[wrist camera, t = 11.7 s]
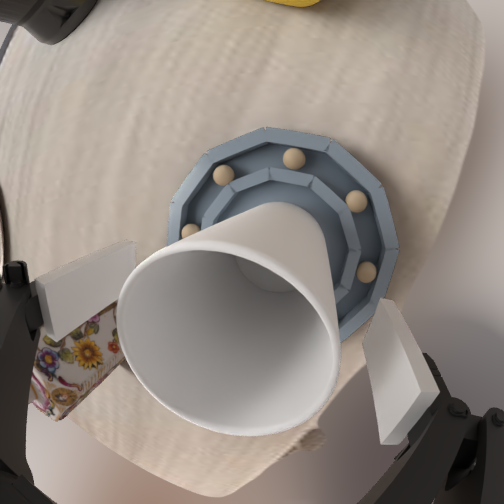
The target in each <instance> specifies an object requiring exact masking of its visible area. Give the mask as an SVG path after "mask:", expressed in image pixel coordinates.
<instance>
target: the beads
mask: <svg viewBox="0 0 504 504" xmlns="http://www.w3.org/2000/svg"><path fill="white" fill-rule="evenodd" d="M305 160H306V159H305V155H304V153H303V152H302V151H301V150H300V149H298V148H290V149H288V150H287V151H286V152H285V153H284V155H283V162H284V164H285V166H286V167H287V168H289V169H291V170H298V169H300V168H302V167H303V165H304V164H305ZM234 177H235V173H234V171H233V169H232V168H231V167H230V166H227V165H221V166H219V167H217V168H216V169H215V171H214V173H213V178H214V181H215V182H216V183H217V184H218V185H220V186H226V185H227V184H229V183H230V182H231V181H233V180H234ZM345 202H346V204H347V206H348V207H347V208H349V209H350V211H352V212H355V213H359V212H362V211H363V210H364V209H365V208H366V206H367V198H366V196H365V194H364V193H363V192H361V191H359V190H353V191H351V192H349V193H348V195H347V196H346V200H345ZM199 231H201V230H200V228H199V226H197V225H196V224H187V225H186V226H184V228H183V229H182V238H183V239H184V238H186V237H188V236H190V235H192V234H195V233H197V232H199ZM356 276H357V278H358V279H359V280H360V281H361V282H363V283H369V282H371V281H373V280H374V278H375V277H376V268H375V266H374V265H373V264H372V263H371V262H367V261H366V262H362V263H360V264H359V265H358V267H357V269H356Z"/></svg>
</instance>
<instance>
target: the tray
mask: <svg viewBox="0 0 504 504" xmlns="http://www.w3.org/2000/svg"><path fill="white" fill-rule="evenodd" d="M290 148H298V149H300V150H301V151H302V152H303V153H304V155H305V159H306V160H305V164H304V165H303V167H302V168H300V169H298V170H291V169H289V168H287V167H286V166H285V164H284V162H283V155H284V153H285V152H286V151H287V150H288V149H290ZM221 165H227V166H230V167H231V168H232V169H233V171H234V173H235V177H234V180H233V181H231V182H230V183H229V184H227V185H226V186H220V185H218V184H217V183H216V182H215V181H214V178H213V173H214V171H215V169H216V168H217V167H219V166H221ZM353 190H359V191H361V192H363V193H364V194H365V196H366V198H367V206H366V208H365V209H364V210H363V211H362V212H359V213H355V212H352V211H350V209H349V208H347V207H348V206H347V204H346V202H345V200H346V196H347V195H348V193H349V192H351V191H353ZM172 201H173V202H170V211H169V222H168V233H167V246H169V245H171V244H173V243H175V242H177V241H179V240H182V239H183V238H182V229H183V228H184V226H186V225H187V224H196V225H197V226H199V228H200V230H204V229H206V228H208V227H210V226H213V225H215V224H217V223H219V222H222V221H224V220H226V219H229V218H231V217H233V216H236V215H238V214H240V213H243V212H245V211H247V210H250V209H252V208H254V207H257V206H259V205H262V204H265V203H269V202H286V203H291V204H294V205H297V206H299V207H301V208H302V209H304V210H306V211H307V212H308V213H309V214H310V215H312V216H313V217H314V219H315V220H316V221H317V222H318V224H319V226H320V227H321V229H322V232H323V234H324V237H325V242H326V248H327V253H328V259H329V265H330V271H331V277H332V283H333V290H334V296H335V303H336V311H337V319H338V327H339V336H340V343H341V342H343V341H344V340H345V339H346V338H347V337H349V336H350V335H351V334H352V333H353V332H354V331H356V330H357V329H358V328H359V327H360V326H361V325H362V324H364V323H365V322H366V321H367V320H368V319H369V318H370V317H371V316H372V315H374V313H375V311H376V308H377V305H378V303H379V300H380V298H383V299H384V297H385V295H386V292H387V289H388V286H389V283H390V280H391V276H392V273H393V270H394V267H395V263H396V260H397V257H398V253H399V250H398V249H397V248H399V244H398V239H397V235H396V231H395V226H394V222H393V219H392V215H391V211H390V207H389V204H388V200H387V197H386V193H385V190H384V187H381V183H380V182H379V181H378V180H377V179H376V178H375V177H374V176H373V175H372V174H371V173H370V172H369V171H368V170H367V169H366V168H365V167H364V166H363V165H362V164H361V163H360V162H359V161H357V160H356V159H355V158H354V157H353V156H352V155H351V154H350V153H349V152H347V151H346V150H345V149H344V148H343V147H342V146H341V145H339V144H338V143H337V142H336V141H335V140H334V139H333V140H332V142H331V143H330V138H328V137H324V136H319V135H314V134H308V133H303V132H297V131H291V130H285V129H278V128H271V127H266V130H265V129H264V128H260V129H257V130H255V131H252V132H250V133H247V134H245V135H242V136H240V137H238V138H235V139H233V140H231V141H228V142H226V143H224V144H221V145H219V146H217V147H215V148H212V149H210V150H208V151H207V154H206V153H204V154H203V155H202V157H201V158H200V159H199V161H198V162H197V164H196V165H195V166H194V168H193V169H192V171H191V172H190V173H189V175H188V176H187V178H186V179H185V180H184V182H183V183H182V185H181V186H180V188H179V189H178V191H177V192H176V194H175V195H174V197H173V198H172ZM167 246H166V247H167ZM366 261H367V262H371V263H372V264H373V265H374V266H375V268H376V277H375V278H374V280H373V281H371V282H369V283H363V282H361V281H360V280H359V279H358V278H357V276H356V269H357V267H358V265H359V264H360V263H362V262H366Z"/></svg>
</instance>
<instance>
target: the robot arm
mask: <svg viewBox="0 0 504 504" xmlns="http://www.w3.org/2000/svg"><path fill="white" fill-rule="evenodd" d="M96 1H97V0H0V21H1V22H6V23H10V24H15V25H19V26H22V27H24V28H25V29H26V30H27V31H28V32H29V33H30V34H32V35H33V36H34V37H35V38H36V39H37V40H38V41H40V42H42V43H45V44H48V45H52V44H55V43H57V42H59V41H61V40H62V39H64V38H65V37H66V36H67V35H68V34H70V33H71V32H72V31H73V30H74V29H75V28H76V27H77V26H78V25H79V23H80V22H81V21H82V20H83V19H84V18H85V16H86V15H87V14H88V13H89V11H90V10H91V9H92V7H93V6H94V4H95V3H96ZM2 268H3V274H4V279H5V284H4V283H2V279H1V274H0V504H57V503H55V502H54V501H52V500H51V499H50V498H49V497H48V496H46V495H45V494H44V493H43V492H41V491H40V490H39V489H38V488H37V487H36V486H34V480H33V476H32V473H31V470H30V468H29V465H28V463H27V460H26V423H27V410H28V400H29V392H30V385H31V379H32V373H33V367H34V362H35V357H36V352H37V348H38V343H39V339H40V335H41V332H40V328H39V327H40V326H42V325H43V324H44V327H45V330H46V334H47V336H48V337H50V338H51V339H53V340H54V341H56V342H58V341H59V340H61V339H62V338H63V337H65V336H66V335H67V334H69V333H70V332H72V331H73V330H74V329H76V328H77V327H79V326H80V325H81V324H83V323H84V322H86V321H87V320H88V319H90V318H91V317H93V316H94V315H96V314H97V313H98V312H100V311H101V310H103V309H104V308H106V307H107V306H108V305H110V304H111V303H113V302H114V301H116V300H117V299H119V296H120V292H121V290H122V288H123V285H124V283H125V282H126V280H127V278H128V277H129V275H130V274H131V273H132V272H133V270H134V269H135V268H136V242H133V241H129V240H123V241H121V242H118V243H116V244H113V245H111V246H109V247H106V248H104V249H101V250H99V251H96V252H94V253H92V254H89V255H87V256H85V257H82V258H80V259H78V260H75V261H73V262H71V263H68V264H66V265H64V266H62V267H59V268H57V269H55V270H53V271H51V272H48V273H46V274H44V275H42V276H40V277H38V278H36V279H35V281H33V282H31V283H30V282H29V276H28V270H27V264H26V262H24V261H11V262H8V263H6V264H4V265H3V266H2ZM362 344H363V349H364V353H365V358H366V362H367V367H368V372H369V377H370V382H371V387H372V392H373V398H374V403H375V409H376V415H377V421H378V428H379V435H380V442H381V444H388V445H391V444H399V443H400V442H401V441H402V440H403V439H404V438H405V437H406V436H407V435H408V440H409V443H408V444H407V446H406V447H405V448H404V449H403V450H402V451H401V452H400V453H399V454H398V455H397V456H396V457H395V458H394V459H395V461H394V462H393V464H392V465H391V466H390V467H389V469H388V470H387V471H386V472H385V474H384V475H383V476H382V477H381V478H380V479H379V481H378V482H377V483H376V484H375V485H374V486H373V487H372V489H371V490H370V491H369V492H368V493H367V494H366V495H365V496H364V497H363V498H362V499H361V500H360V501H359V502H358V503H357V504H431V503H432V502H433V500H434V498H435V500H434V503H433V504H504V411H503V410H500V409H498V408H490V409H489V410H488V411H487V412H486V414H485V415H484V416H483V417H479V416H475V415H471V412H470V409H469V407H468V406H467V405H466V403H464V402H463V401H462V400H460V399H458V398H453V397H451V395H450V393H449V391H448V389H447V387H446V385H445V382H444V380H443V378H442V377H441V374H440V372H439V371H438V368H437V366H436V364H435V362H434V361H433V360H432V359H431V358H430V357H429V356H428V355H427V353H422V352H421V350H420V348H419V346H418V344H417V343H416V341H415V339H414V337H413V335H412V333H411V331H410V329H409V327H408V325H407V324H406V322H405V320H404V318H403V316H402V315H401V313H400V311H399V309H398V307H397V306H396V304H395V302H394V301H393V300H388V299H383V298H380V300H379V303H378V305H377V308H376V311H375V313H374V316H373V319H372V321H371V324H370V326H369V329H368V331H367V334H366V336H365V338H364V341H363V343H362ZM475 463H476V464H475Z"/></svg>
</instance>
